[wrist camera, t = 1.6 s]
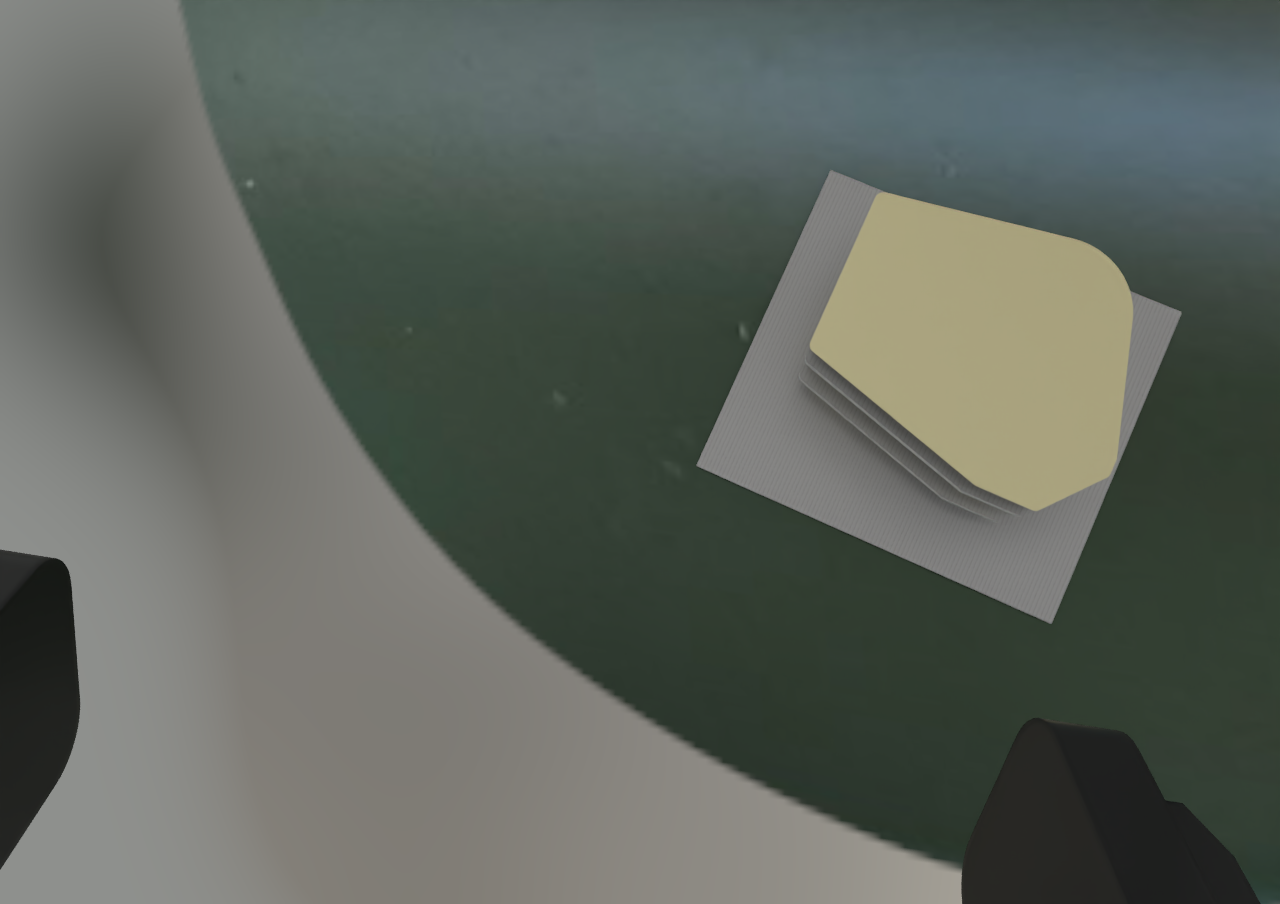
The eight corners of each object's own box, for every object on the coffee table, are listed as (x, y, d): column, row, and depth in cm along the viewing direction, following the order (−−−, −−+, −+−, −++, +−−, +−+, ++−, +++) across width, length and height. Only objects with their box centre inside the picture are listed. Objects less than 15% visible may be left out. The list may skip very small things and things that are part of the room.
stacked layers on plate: (695, 466, 30) (690, 437, 24) (830, 170, 31) (853, 78, 25) (1050, 624, 29) (1127, 631, 23) (1181, 312, 30) (1285, 248, 24)
